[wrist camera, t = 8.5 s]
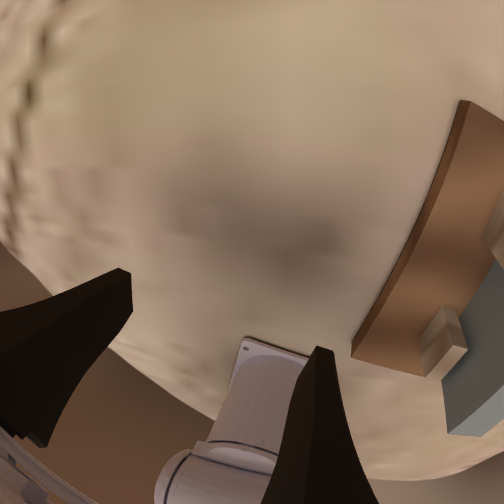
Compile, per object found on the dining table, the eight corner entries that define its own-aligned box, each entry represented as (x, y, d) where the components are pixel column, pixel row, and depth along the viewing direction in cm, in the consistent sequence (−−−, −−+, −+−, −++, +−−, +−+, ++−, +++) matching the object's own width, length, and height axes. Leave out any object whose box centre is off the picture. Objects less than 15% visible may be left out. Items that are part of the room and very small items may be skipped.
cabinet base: (482, 377, 19) (492, 422, 15) (351, 342, 21) (347, 396, 17) (594, 201, 10) (632, 231, 6) (460, 100, 12) (501, 105, 7)
